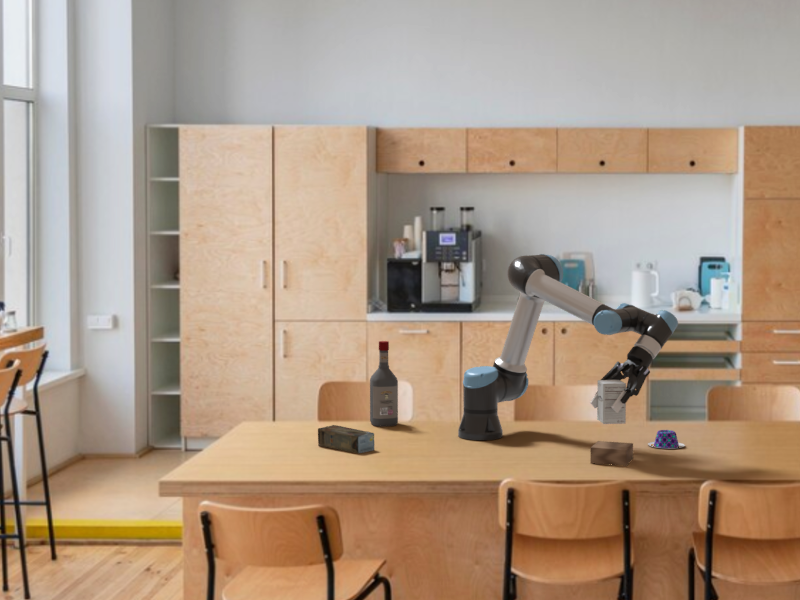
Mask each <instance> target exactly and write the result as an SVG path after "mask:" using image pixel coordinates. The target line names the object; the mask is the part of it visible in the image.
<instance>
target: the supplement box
mask: <svg viewBox="0 0 800 600" xmlns="http://www.w3.org/2000/svg"><path fill="white" fill-rule="evenodd" d="M626 387H627V383H626V382H624V381H622V380H601V379H598V380H597V391H598V394H597V408H596V409H597V410H596V412H597V413H596V414H597V416H596V417H597V418H596V419H597V421H600V423H602V424H603V425H618V424H619V425H622V424H626V423H627V421H626V419H627V417H626V415H627V414H626V413H627V412H626V411H627V408H626V407H627V402H626V403H625V404H624V405H623V406H622V408H621V409H620V411H619V412H618V413H616V412H615V411H614V410H613V409H612V405H613V404H614V403H615V401H616V400H617V398H618V397H619V396H620V394H621V393H622V392H623V391H625V390H626ZM624 389H625V390H624ZM625 392H626V391H625Z"/></svg>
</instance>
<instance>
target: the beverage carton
mask: <svg viewBox="0 0 800 600" xmlns="http://www.w3.org/2000/svg"><path fill="white" fill-rule="evenodd" d="M317 440H318V441H317V443H318V445H317V446H320V447H324V448H329V449H334V450H338V451H343V452H349V453H354V454H361V453H362V454H363V453H368V452H372V451H374V450H375V446H376V445H375V433H374V432H370V431H367V430H361V429H355V428H352V427H347V426H341V425H337V424H336V425H335V424H331V425H329V426H324V427H319V428H317Z"/></svg>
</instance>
